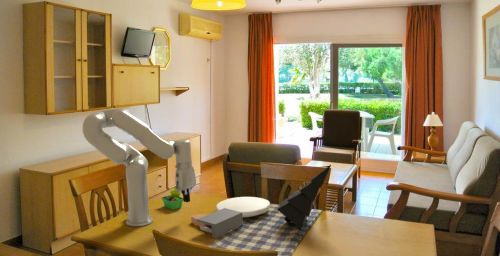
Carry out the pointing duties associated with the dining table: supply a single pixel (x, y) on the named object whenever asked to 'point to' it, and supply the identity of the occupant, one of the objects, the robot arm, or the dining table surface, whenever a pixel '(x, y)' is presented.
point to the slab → (194, 221)
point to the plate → (245, 205)
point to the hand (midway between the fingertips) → (186, 201)
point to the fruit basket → (173, 200)
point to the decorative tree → (302, 200)
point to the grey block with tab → (221, 222)
